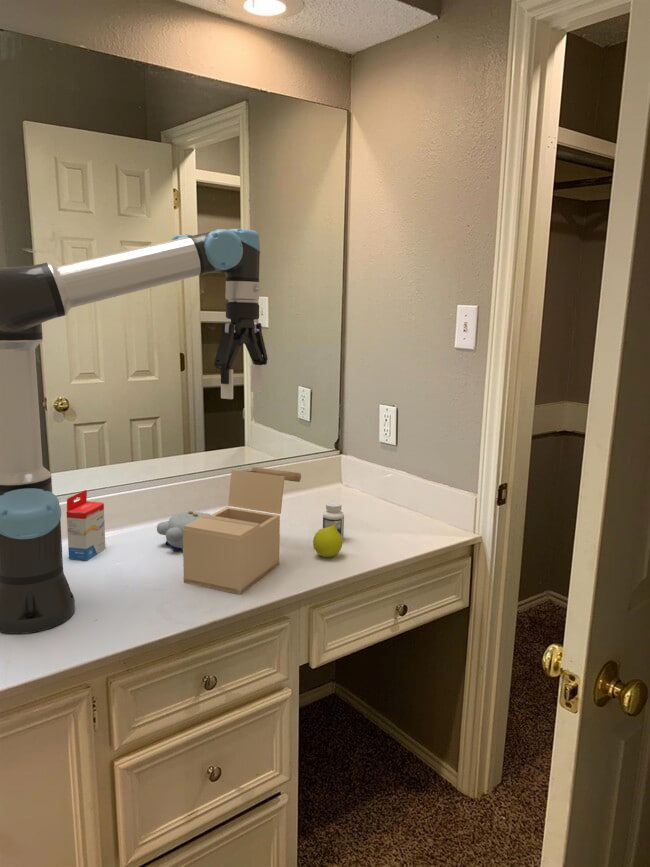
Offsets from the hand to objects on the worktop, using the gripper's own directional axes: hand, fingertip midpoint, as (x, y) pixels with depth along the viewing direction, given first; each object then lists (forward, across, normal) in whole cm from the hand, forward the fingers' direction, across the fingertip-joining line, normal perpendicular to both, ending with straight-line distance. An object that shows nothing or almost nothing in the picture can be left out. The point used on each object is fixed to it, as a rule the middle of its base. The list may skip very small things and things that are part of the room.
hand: (242, 395), depth 151 cm
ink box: (+39, -16, +33) cm, 53 cm away
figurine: (+39, +2, +14) cm, 41 cm away
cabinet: (+39, -11, -4) cm, 40 cm away
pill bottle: (+39, +19, -16) cm, 46 cm away
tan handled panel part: (+22, -1, -4) cm, 22 cm away
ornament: (+39, +8, -19) cm, 44 cm away
